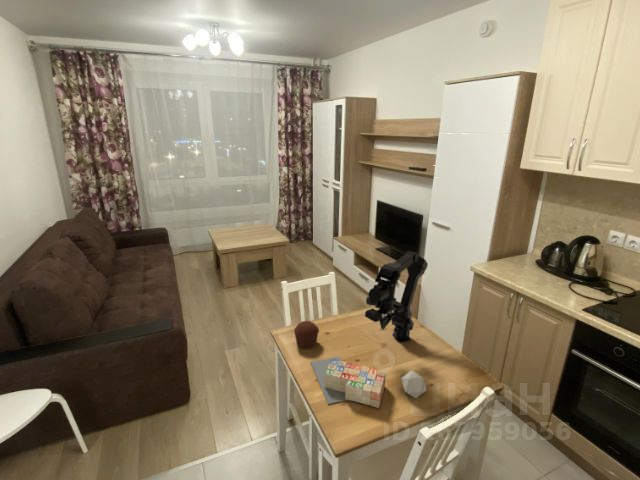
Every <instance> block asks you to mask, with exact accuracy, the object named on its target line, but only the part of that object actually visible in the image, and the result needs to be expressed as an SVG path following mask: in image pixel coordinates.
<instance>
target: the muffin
mask: <svg viewBox="0 0 640 480" xmlns="http://www.w3.org/2000/svg"><path fill="white" fill-rule="evenodd" d="M293 331H294V332H293V333H294V337H295V340H296V341H295V342H296V344H297V346H298V347H299V348H301V349H312V348H314V347H315V346H316V344H317V342H318V335H319V333H320V330H319V327H318V326H317V325H316V323H314V322H313V321H309V320H304V321H301V322H299V323H298V324H297V325H296V326H295V328H294V330H293Z"/></svg>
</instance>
